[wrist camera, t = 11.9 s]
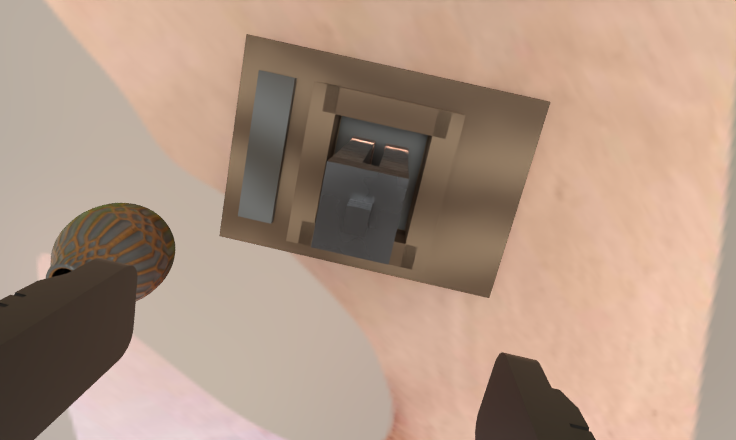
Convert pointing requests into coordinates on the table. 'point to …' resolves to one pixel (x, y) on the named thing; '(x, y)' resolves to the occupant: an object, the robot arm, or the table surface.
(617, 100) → the table surface
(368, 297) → the table surface
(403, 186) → the grey square peg
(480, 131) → the stand
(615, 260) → the table surface
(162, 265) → the vase
